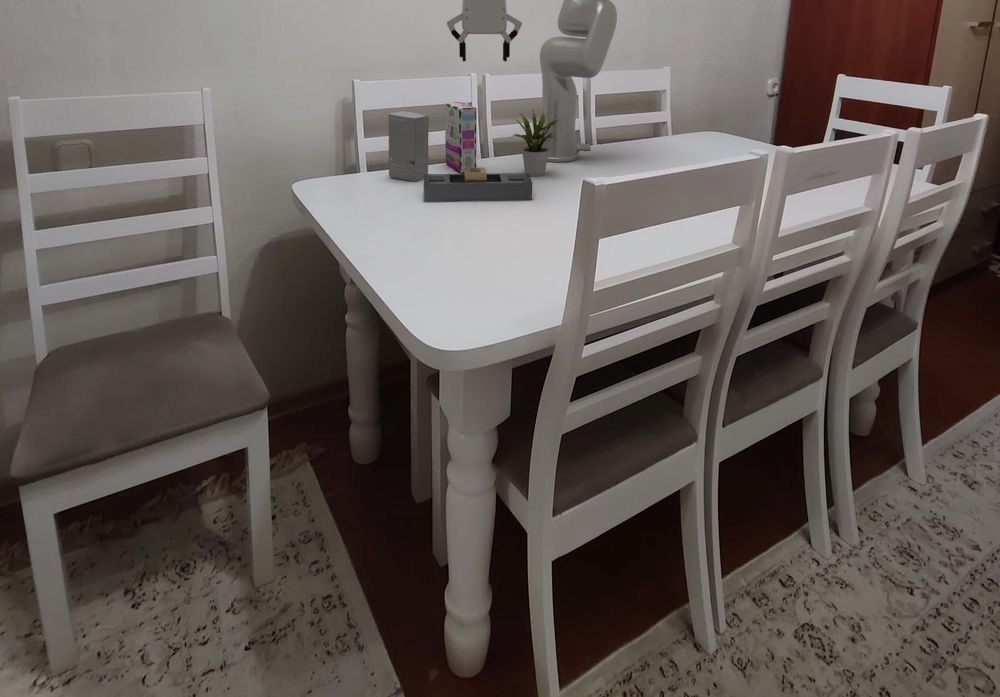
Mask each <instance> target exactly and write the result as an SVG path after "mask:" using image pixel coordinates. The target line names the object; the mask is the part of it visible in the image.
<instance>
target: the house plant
mask: <svg viewBox="0 0 1000 697" xmlns="http://www.w3.org/2000/svg"><path fill="white" fill-rule="evenodd" d="M531 110H532V116H530V118H531V120H532V127H533V130H532V128H531V124H530V122H529V120H528V118H527V117H525V115H524V114H522V113H520V116H521V118H522V121H523V124H522V123H521V121H519V120H517V118H514V119H515V121H516V122H517V123H518V124H519V125H520V127H521V128H522V129H523V131H524V132H525V134H518V133H515V134H513V135H512V137H519V138H521V139H523V140H524V141H525V142H526V145H527V146H526V147H525V146H524V147H523V148H521V153H522V160H523V168H524V173H528V174H529V176H530V177H531V176H532V177H539V176H540V177H541V176H544V175H545V174H546V173H545V172H546V167H547V163H548V161H547V159H548V154H549V149H548V148H544V147H542V145H543V144H544V142H545V141H546V140H547V139H548V138H551V139H552V138H554V139H557V138H555V137H552V136H553V135H551V134H553V133H554V132H557V131H554V132H552V133H547V131H548V130H549V128H550V127H551V126H555V125H557V124H554V123H555V122H557V121H555V120H558V121H560V119H559V118H561V117H558V118H556V119H554V120H552V121H551V122H550V123H549V124H548V125H547V126H545V127H543V125H544V123H545V116H546V114H544V110H543V112H542V111H541V115H540V118H539V119H538V121H537V116H536V113H535V111H534V109H533V108H531ZM563 117H564V116H563ZM542 127H543V128H542ZM546 129H547V130H546ZM542 130H543V132H542V133H541V131H542ZM545 130H546V132H545ZM532 131H533V132H532ZM544 132H545V133H544ZM545 134H549V135H547V136H545ZM544 136H545V137H544ZM556 137H558V136H556ZM541 138H542V139H541ZM551 139H550V140H551ZM550 140H549V141H550ZM557 140H558V139H557ZM549 141H548V142H549ZM548 142H547V143H548Z"/></svg>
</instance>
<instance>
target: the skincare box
mask: <svg viewBox="0 0 1000 697" xmlns="http://www.w3.org/2000/svg"><path fill="white" fill-rule="evenodd" d="M429 119H430V116H429V115H428V114H422V113H418V112H409V111H405V110H404V111H403V110H402V111H395V112H389V113H388V176H389V178H390V179H398V180H404V181H412V182H417V181H420V180H422V179H423V180H424V174H429Z"/></svg>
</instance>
